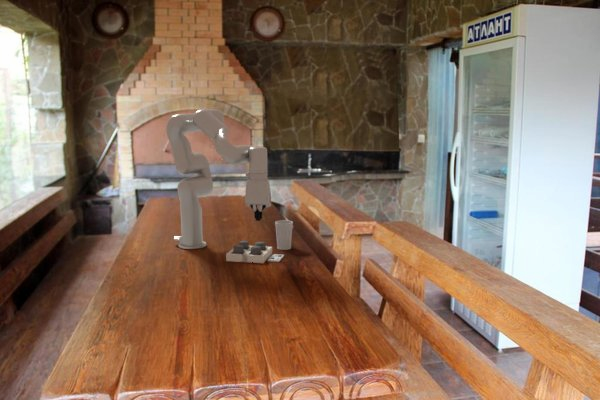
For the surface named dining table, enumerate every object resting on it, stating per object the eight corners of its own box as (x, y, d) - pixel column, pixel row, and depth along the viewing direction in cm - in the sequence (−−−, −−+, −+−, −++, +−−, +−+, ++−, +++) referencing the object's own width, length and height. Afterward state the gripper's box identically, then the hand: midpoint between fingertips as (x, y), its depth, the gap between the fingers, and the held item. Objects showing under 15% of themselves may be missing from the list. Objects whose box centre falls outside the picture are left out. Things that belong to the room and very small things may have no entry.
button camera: (249, 256, 238) (249, 248, 237) (252, 253, 242) (252, 245, 241) (259, 257, 237) (259, 248, 236) (262, 254, 241) (262, 246, 240)
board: (226, 261, 238) (226, 254, 238) (237, 251, 253) (237, 244, 252) (263, 263, 235) (263, 256, 234) (272, 253, 249) (272, 246, 249)
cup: (290, 250, 254) (290, 224, 252) (273, 249, 255) (273, 223, 253) (294, 246, 262) (294, 220, 259) (277, 245, 263) (277, 219, 261)
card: (267, 261, 238) (267, 259, 238) (272, 255, 246) (272, 253, 246) (279, 261, 237) (279, 260, 237) (284, 256, 245) (284, 254, 245)
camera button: (232, 255, 239) (231, 247, 238) (235, 252, 243) (235, 244, 243) (242, 256, 238) (241, 248, 238) (245, 253, 242) (245, 245, 242)
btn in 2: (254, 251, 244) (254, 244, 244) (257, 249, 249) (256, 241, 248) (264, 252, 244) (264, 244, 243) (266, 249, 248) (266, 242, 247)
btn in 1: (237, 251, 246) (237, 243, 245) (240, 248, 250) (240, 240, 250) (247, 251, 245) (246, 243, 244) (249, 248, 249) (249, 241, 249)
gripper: (238, 177, 233) (238, 221, 236) (273, 178, 230) (273, 223, 233) (243, 174, 240) (243, 217, 243) (277, 176, 237) (277, 219, 241)
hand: (258, 220), depth 238 cm, fingers closed
